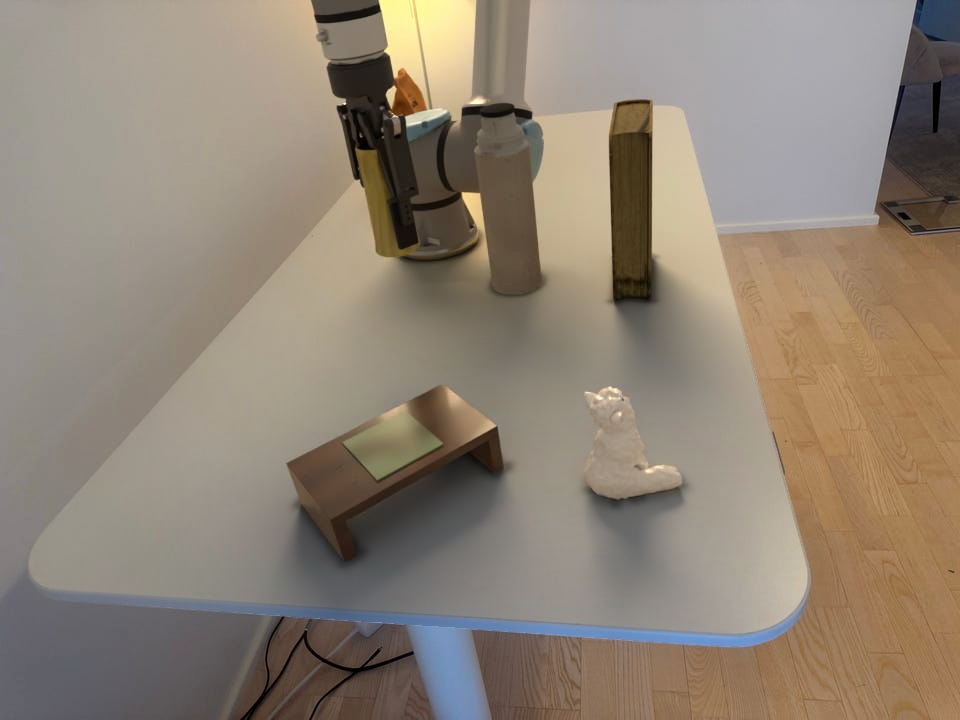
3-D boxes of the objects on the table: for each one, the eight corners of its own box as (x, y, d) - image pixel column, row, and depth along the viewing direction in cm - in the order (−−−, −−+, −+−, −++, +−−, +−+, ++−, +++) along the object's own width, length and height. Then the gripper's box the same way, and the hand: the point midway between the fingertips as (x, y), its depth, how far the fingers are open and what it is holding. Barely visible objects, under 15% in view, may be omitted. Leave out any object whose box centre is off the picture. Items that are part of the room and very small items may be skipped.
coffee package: (389, 181, 165) (369, 82, 153) (402, 163, 175) (384, 68, 163) (431, 178, 163) (413, 77, 151) (442, 160, 173) (426, 64, 161)
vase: (376, 242, 99) (352, 140, 91) (420, 235, 99) (400, 132, 91) (375, 261, 94) (349, 155, 86) (421, 253, 94) (399, 147, 86)
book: (618, 254, 120) (614, 101, 106) (651, 253, 118) (652, 98, 105) (613, 303, 107) (608, 135, 93) (651, 303, 105) (652, 132, 92)
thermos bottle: (504, 269, 120) (483, 98, 105) (548, 273, 117) (533, 97, 102) (484, 292, 115) (459, 114, 99) (530, 297, 111) (511, 114, 96)
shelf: (300, 503, 79) (285, 461, 76) (450, 423, 88) (442, 381, 84) (344, 562, 71) (329, 518, 68) (503, 467, 80) (497, 424, 77)
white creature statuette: (686, 486, 74) (690, 393, 67) (623, 526, 71) (621, 432, 64) (623, 441, 81) (621, 353, 74) (563, 475, 78) (555, 386, 71)
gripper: (295, 56, 88) (340, 229, 101) (366, 72, 75) (408, 270, 88) (349, 42, 92) (386, 212, 104) (426, 55, 78) (458, 248, 91)
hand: (396, 238), depth 96 cm, fingers closed on vase, 6 cm apart
